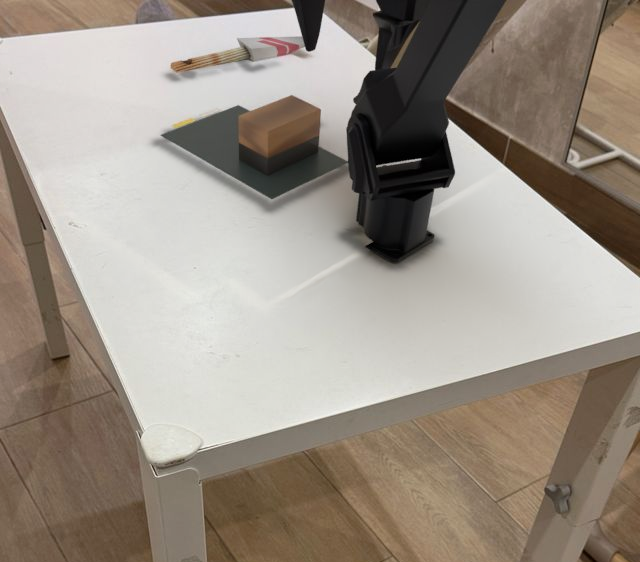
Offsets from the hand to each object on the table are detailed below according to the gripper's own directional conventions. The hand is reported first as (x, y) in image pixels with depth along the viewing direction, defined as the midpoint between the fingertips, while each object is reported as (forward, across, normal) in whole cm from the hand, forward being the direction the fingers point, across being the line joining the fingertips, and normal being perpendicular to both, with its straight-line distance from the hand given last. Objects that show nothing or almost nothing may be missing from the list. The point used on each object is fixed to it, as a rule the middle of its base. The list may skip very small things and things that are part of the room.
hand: (344, 64), depth 82 cm
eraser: (+11, -6, -3) cm, 13 cm away
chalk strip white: (+11, -18, -2) cm, 21 cm away
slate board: (+12, -9, -4) cm, 15 cm away
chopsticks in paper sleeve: (+12, -27, +12) cm, 32 cm away
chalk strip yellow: (+11, -18, -6) cm, 22 cm away
